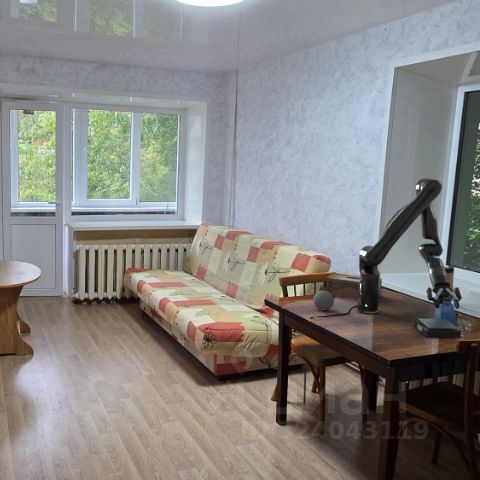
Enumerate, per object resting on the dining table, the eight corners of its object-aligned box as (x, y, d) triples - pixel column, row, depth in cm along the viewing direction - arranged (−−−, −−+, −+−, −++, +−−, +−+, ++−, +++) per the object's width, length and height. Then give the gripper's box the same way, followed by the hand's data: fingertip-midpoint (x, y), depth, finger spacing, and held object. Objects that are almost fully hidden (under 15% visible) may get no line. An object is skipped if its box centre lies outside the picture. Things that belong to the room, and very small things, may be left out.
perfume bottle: (454, 325, 240) (456, 300, 238) (440, 324, 241) (442, 299, 240) (450, 321, 246) (452, 296, 244) (436, 320, 247) (437, 296, 246)
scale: (425, 337, 226) (425, 330, 225) (413, 326, 240) (413, 320, 239) (460, 337, 224) (460, 331, 224) (446, 327, 238) (446, 320, 238)
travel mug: (443, 306, 269) (445, 268, 266) (431, 302, 277) (434, 265, 273) (455, 305, 271) (457, 267, 268) (443, 301, 279) (446, 264, 275)
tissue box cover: (325, 294, 295) (326, 277, 294) (335, 289, 307) (335, 272, 305) (373, 302, 280) (374, 283, 278) (380, 296, 291) (381, 278, 289)
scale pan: (428, 328, 226) (428, 326, 226) (417, 320, 238) (417, 318, 238) (457, 329, 225) (457, 327, 225) (445, 320, 237) (445, 318, 237)
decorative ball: (329, 314, 260) (330, 294, 259) (310, 310, 266) (310, 291, 265) (336, 309, 268) (337, 290, 266) (317, 306, 274) (317, 287, 272)
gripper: (425, 274, 249) (434, 304, 239) (457, 274, 247) (467, 304, 238) (421, 282, 255) (429, 311, 245) (451, 282, 253) (460, 312, 244)
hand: (447, 308), depth 242 cm, fingers open, 8 cm apart
